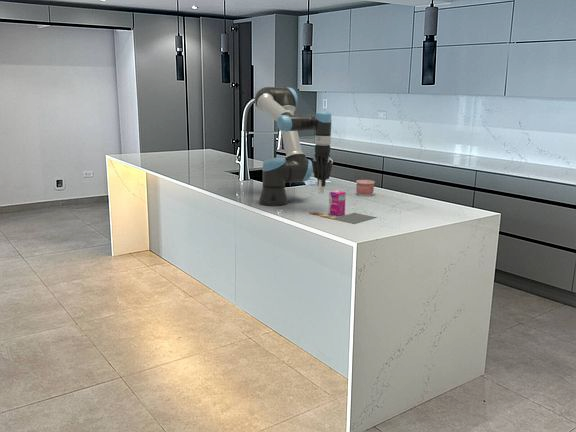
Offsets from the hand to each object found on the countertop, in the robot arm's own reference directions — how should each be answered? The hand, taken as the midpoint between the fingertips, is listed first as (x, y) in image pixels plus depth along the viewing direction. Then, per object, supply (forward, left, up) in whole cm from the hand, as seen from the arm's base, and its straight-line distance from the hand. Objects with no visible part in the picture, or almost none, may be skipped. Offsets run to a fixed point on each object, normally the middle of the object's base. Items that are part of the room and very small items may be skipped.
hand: (321, 192), depth 272 cm
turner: (+8, -7, -9) cm, 14 cm away
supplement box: (+10, 0, -10) cm, 14 cm away
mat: (+20, 0, -10) cm, 22 cm away
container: (-10, +53, -10) cm, 55 cm away
